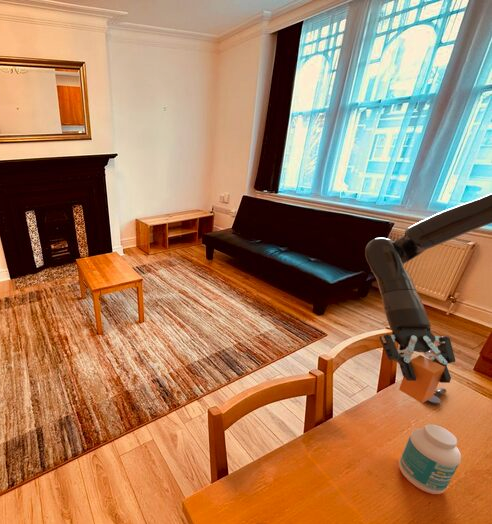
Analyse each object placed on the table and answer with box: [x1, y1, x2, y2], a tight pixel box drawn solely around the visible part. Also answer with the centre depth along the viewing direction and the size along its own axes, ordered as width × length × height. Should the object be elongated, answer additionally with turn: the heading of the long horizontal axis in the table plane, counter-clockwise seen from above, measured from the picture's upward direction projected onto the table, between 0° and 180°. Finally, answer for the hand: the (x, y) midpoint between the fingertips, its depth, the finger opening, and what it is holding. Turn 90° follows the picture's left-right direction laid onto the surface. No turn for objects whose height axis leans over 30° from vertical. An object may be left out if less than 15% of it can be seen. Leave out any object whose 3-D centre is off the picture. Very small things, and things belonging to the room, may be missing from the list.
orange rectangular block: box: [398, 354, 445, 404], centre depth 65 cm, size 4×4×9 cm
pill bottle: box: [398, 423, 462, 495], centre depth 58 cm, size 8×7×14 cm
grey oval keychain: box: [424, 387, 448, 406], centre depth 79 cm, size 9×4×1 cm, turn 112°
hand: (428, 381), depth 63 cm, fingers closed on orange rectangular block, 6 cm apart
